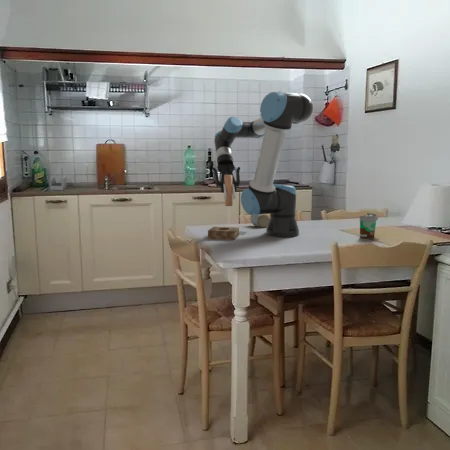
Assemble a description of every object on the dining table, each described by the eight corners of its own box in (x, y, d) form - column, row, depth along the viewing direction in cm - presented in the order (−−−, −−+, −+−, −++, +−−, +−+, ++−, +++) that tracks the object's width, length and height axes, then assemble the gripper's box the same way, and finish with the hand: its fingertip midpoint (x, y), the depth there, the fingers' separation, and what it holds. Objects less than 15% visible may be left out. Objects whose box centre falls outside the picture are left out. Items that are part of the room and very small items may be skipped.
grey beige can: (257, 228, 235) (258, 213, 234) (250, 226, 243) (250, 211, 241) (276, 227, 240) (276, 212, 239) (267, 224, 247) (268, 210, 246)
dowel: (233, 205, 219) (233, 174, 216) (231, 206, 216) (231, 175, 213) (226, 205, 220) (225, 174, 217) (224, 206, 217) (223, 175, 214)
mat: (247, 232, 226) (247, 231, 226) (244, 235, 218) (244, 234, 218) (226, 231, 228) (226, 230, 228) (223, 234, 220) (223, 234, 220)
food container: (372, 239, 207) (373, 217, 205) (358, 238, 210) (359, 216, 208) (380, 235, 217) (381, 213, 215) (366, 233, 220) (367, 212, 218)
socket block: (239, 236, 217) (239, 227, 216) (234, 240, 207) (234, 231, 206) (213, 235, 219) (213, 226, 219) (207, 239, 210) (207, 230, 209)
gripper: (240, 163, 230) (246, 201, 217) (207, 164, 228) (211, 202, 215) (242, 153, 224) (248, 191, 211) (208, 153, 222) (212, 192, 209)
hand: (229, 197), depth 213 cm, fingers closed on dowel, 3 cm apart
